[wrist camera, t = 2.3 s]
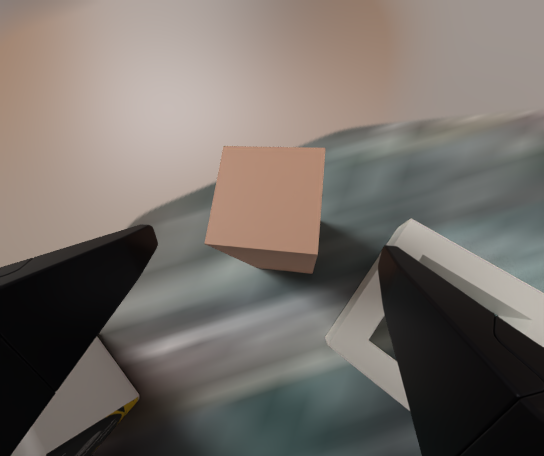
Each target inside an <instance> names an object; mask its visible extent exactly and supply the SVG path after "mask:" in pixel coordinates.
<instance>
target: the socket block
mask: <svg viewBox="0 0 544 456" xmlns="http://www.w3.org/2000/svg"><path fill="white" fill-rule="evenodd" d="M386 245H389V246H397V247H399V248H400V249H402V250H403V251H405V252H406V253H407V254H409V255H410V256H412V257H413V258H415V259H416V260H418V261H419V262H420V263H422V264H423V265H425V266H426V267H428V268H429V269H431V270H432V271H433V272H435V273H436V274H438V275H439V276H441V277H442V278H443V279H445V280H446V281H448V282H449V283H451V284H452V285H454V286H455V287H456V288H458V289H459V290H461V291H462V292H464V293H465V294H466V295H468V296H469V297H471V298H472V299H474V300H475V301H477V302H478V303H479V304H481V305H482V306H484V307H485V308H487V309H488V310H490V311H492V312H493V313H495V314H496V315H498V317H500V318H501V319H503V320H504V321H505V322H507V323H508V324H510V325H511V326H513V327H514V328H516V329H517V330H519V331H520V332H521V333H523V334H524V335H526V336H527V337H529V338H530V339H532V340H533V341H535V342H536V343H538V344H539V345H541V346H542V347H544V293H543V292H541V291H539V290H537V289H535V288H534V287H532V286H530V285H528V284H527V283H525V282H523V281H521V280H519V279H518V278H516V277H514V276H512V275H511V274H509V273H507V272H505V271H504V270H502V269H500V268H498V267H496V266H495V265H493V264H491V263H489V262H488V261H486V260H484V259H482V258H480V257H479V256H477V255H475V254H473V253H472V252H470V251H468V250H466V249H464V248H463V247H461V246H459V245H457V244H456V243H454V242H452V241H450V240H449V239H447V238H445V237H443V236H441V235H440V234H438V233H436V232H434V231H433V230H431V229H429V228H427V227H425V226H424V225H422V224H420V223H418V222H417V221H415V220H413V219H410V220H408V221H407V222H405V223H404V224H402V225H401V226H400V227H398V228H397V229H396V231H395V232H394V234H393V235H392V237H391V238H390V240H389V241H388V243H387V244H386ZM380 256H381V254H380V255H379V257H378V258H377V260H376V261H375V263H374V264H373V266H372V267H371V269H370V270H369V272H368V273H367V275H366V276H365V278H364V279H363V281H362V282H361V284H360V285H359V287H358V288H357V290H356V291H355V293H354V294H353V296H352V297H351V299H350V300H349V302H348V303H347V305H346V306H345V308H344V309H343V311H342V312H341V314H340V315H339V317H338V319H337V320H336V322H335V323H334V325H333V326H332V328H331V329H330V331H329V332H328V334H327V335H326V337H325V339H326V342H327V345H328V346H329V347H330V348H332V349H333V350H334V351H335V352H337V353H338V354H339V355H340V356H342V357H343V358H344V359H345V360H347V361H348V362H349V363H350V364H352V365H353V366H354V367H355V368H357V369H358V370H359V371H360V372H362V373H363V374H364V375H365V376H367V377H368V378H369V379H370V380H372V381H373V382H374V383H375V384H377V385H378V386H379V387H380V388H382V389H383V390H384V391H385V392H387V393H388V394H389V395H390V396H392V397H393V398H394V399H395V400H397V401H398V402H399V403H400V404H402V405H403V406H404V407H405V408H407V409H408V410H409V411H410V408H409V405H408V401H407V397H406V393H405V390H404V386H403V382H402V378H401V375H400V371H399V367H398V363H397V361H396V360H395V359H393V358H392V357H391V356H389V355H388V354H387V353H385V352H384V351H383V350H381V349H380V348H379V347H377V346H376V345H375V344H373V343H372V342H371V341H369V339H370V337H371V335H372V334H373V332H374V331H375V329H376V328H377V326H378V324H379V323H380V321H381V320H382V318H383V316H384V315H385V314H384V310H383V304H382V297H381V290H380V282H379V275H378V263H379V259H380Z"/></svg>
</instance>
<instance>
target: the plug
mask: <svg viewBox="0 0 544 456" xmlns="http://www.w3.org/2000/svg"><path fill="white" fill-rule="evenodd" d="M324 160H325V148H296V147H289V148H288V147H239V146H238V147H237V146H224V147H223V152H222V157H221V162H220V168H219V172H218V177H217V182H216V188H215V193H214V198H213V203H212V208H211V214H210V219H209V224H208V229H207V234H206V239H205V244H206V245H208V246H211V247H213V248H215V249H217V250H219V251H221V252H224V253H226V254H228V255H230V256H232V257H234V258H237V259H239V260H241V261H243V262H245V263H247V264H250V265H252V266H254V267H256V268H264V269H273V270H282V271H291V272H301V273H310V274H312V273H313V270H314V266H315V263H316V259H317V255H318V244H319V230H320V216H321V202H322V188H323V174H324Z"/></svg>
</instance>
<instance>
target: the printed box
mask: <svg viewBox="0 0 544 456" xmlns="http://www.w3.org/2000/svg"><path fill="white" fill-rule="evenodd" d="M138 400H139V394H138V392H137V391H136V389H135V388H134V387H133V385H132V384H131V383H130V381H129V380H128V378H127V377H126V376H125V374H124V373H123V371H122V370H121V369H120V367H119V366H118V364H117V363H116V362H115V360H114V359H113V358H112V356H111V355H110V353H109V352H108V351H107V349H106V348H105V346H104V345H103V344H102V342H101V341H100V340H99V338H98V337H96V338H95V339H94V341H93V342H92V344H91V345H90V346H89V348H88V349H87V350H86V352H85V353H84V355H83V356H82V357H81V359H80V360H79V362H78V363H77V364H76V366H75V367H74V368H73V370H72V371H71V373H70V374H69V375H68V377H67V378H66V379H65V381H64V382H63V384H62V385H61V386H60V388H59V389H58V390H57V391H56V394H55V395H54V396H53V398H52V399H51V401H50V402H49V403H48V405H47V406H46V407H45V409H44V410H43V412H42V413H41V414H40V416H39V417H38V419H37V420H36V421H35V423H34V424H33V425H32V427H31V428H30V430H29V431H28V432H27V434H26V435H25V436H24V438H23V439H22V441H21V442H20V443H19V445H18V446H17V448H16V449H15V450H14V452H13V453H12V454H11V456H91V455H92V453H93V452H94V451H95V450H96V449H97V448H98V446H99V445H100V444H101V443H102V442H103V441H104V440H105V438H106V437H107V436H108V435H109V434H110V433H111V431H112V430H113V429H114V428H115V427H116V426H117V424H118V423H119V422H120V421H121V420H122V419H123V417H124V416H125V415H126V414H127V413H128V412H129V410H130V409H131V408H132V407H133V406H134V405H135V404H136V402H137V401H138Z"/></svg>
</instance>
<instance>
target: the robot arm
mask: <svg viewBox="0 0 544 456" xmlns="http://www.w3.org/2000/svg"><path fill="white" fill-rule="evenodd" d="M157 246H158V242H157V238H156V235H155V232H154V229H153V227H152V226H150V225H143V224H142V225H138V226H134V227H131V228H128V229H125V230H121V231H118V232H115V233H112V234H108V235H105V236H102V237H99V238H95V239H92V240H89V241H86V242H82V243H79V244H76V245H73V246H69V247H66V248H63V249H60V250H56V251H53V252H50V253H47V254H43V255H40V256H37V257H34V258H30V259H27V260H24V261H20V262H17V263H14V264H10V265H7V266H4V267H1V268H0V456H11V454H12V453H13V452H14V450H15V449H16V448H17V446H18V445H19V443H20V442H21V441H22V439H23V438H24V436H25V435H26V434H27V432H28V431H29V430H30V428H31V427H32V425H33V424H34V423H35V421H36V420H37V419H38V417H39V416H40V414H41V413H42V412H43V410H44V409H45V407H46V406H47V405H48V403H49V402H50V401H51V399H52V398H53V396H54V395H55V394H56V391H57V390H58V389H59V388H60V386H61V385H62V384H63V382H64V381H65V379H66V378H67V377H68V375H69V374H70V373H71V371H72V370H73V368H74V367H75V366H76V364H77V363H78V362H79V360H80V359H81V357H82V356H83V355H84V353H85V352H86V350H87V349H88V348H89V346H90V345H91V344H92V342H93V341H94V339H95V338H96V337H97V335H98V334H99V333H100V331H101V330H102V328H103V327H104V326H105V324H106V323H107V322H108V320H109V319H110V317H111V316H112V315H113V313H114V312H115V311H116V309H117V308H118V306H119V305H120V304H121V302H122V301H123V299H124V298H125V297H126V295H127V294H128V293H129V291H130V290H131V288H132V287H133V286H134V284H135V283H136V282H137V280H138V279H139V277H140V276H141V274H142V272H143V271H144V269H145V267H146V265H147V264H148V262H149V260H150V259H151V257H152V255H153V254H154V252H155V250H156V248H157ZM378 275H379V282H380V290H381V297H382V304H383V310H384V314H385V318H386V322H387V326H388V330H389V333H390V337H391V341H392V345H393V348H394V352H395V356H396V360H397V363H398V367H399V371H400V375H401V378H402V382H403V386H404V390H405V393H406V397H407V401H408V405H409V408H410V412H411V416H412V420H413V424H414V427H415V431H416V435H417V439H418V442H419V446H420V450H421V454H422V456H544V347H542V346H541V345H539V344H538V343H536V342H535V341H533V340H532V339H530V338H529V337H527V336H526V335H524V334H523V333H521V332H520V331H519V330H517V329H516V328H514V327H513V326H511V325H510V324H508V323H507V322H505V321H504V320H503V319H501V318H500V317H498V316H495V314H494V313H492V312H491V311H490V310H488V309H487V308H485V307H484V306H482V305H481V304H479V303H478V302H477V301H475V300H474V299H472V298H471V297H469V296H468V295H466V294H465V293H464V292H462V291H461V290H459V289H458V288H456V287H455V286H454V285H452V284H451V283H449V282H448V281H446V280H445V279H443V278H442V277H441V276H439V275H438V274H436V273H435V272H433V271H432V270H431V269H429V268H428V267H426V266H425V265H423V264H422V263H420V262H419V261H418V260H416V259H415V258H413V257H412V256H410V255H409V254H407V253H406V252H405V251H403V250H402V249H400V248H399V247H397V246H389V245H385V246H384V247H383V249H382V252H381V256H380V259H379V263H378Z"/></svg>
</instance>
